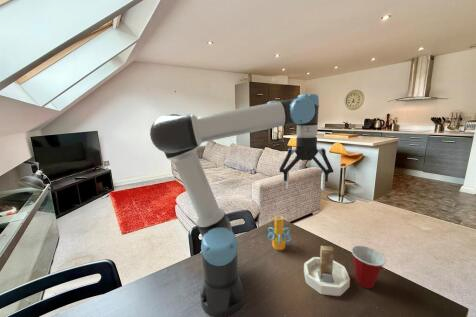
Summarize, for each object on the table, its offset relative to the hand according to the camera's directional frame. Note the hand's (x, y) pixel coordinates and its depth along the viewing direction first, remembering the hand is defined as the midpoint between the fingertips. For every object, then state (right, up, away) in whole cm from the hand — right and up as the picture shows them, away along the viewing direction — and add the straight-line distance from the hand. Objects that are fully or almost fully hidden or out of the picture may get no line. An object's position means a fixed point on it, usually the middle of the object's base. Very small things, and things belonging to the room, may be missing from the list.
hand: (304, 189), depth 86 cm
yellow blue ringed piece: (-8, -30, +15) cm, 34 cm away
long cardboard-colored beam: (+6, -32, -5) cm, 33 cm away
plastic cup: (+20, -34, -7) cm, 40 cm away
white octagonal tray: (+6, -33, -5) cm, 34 cm away
